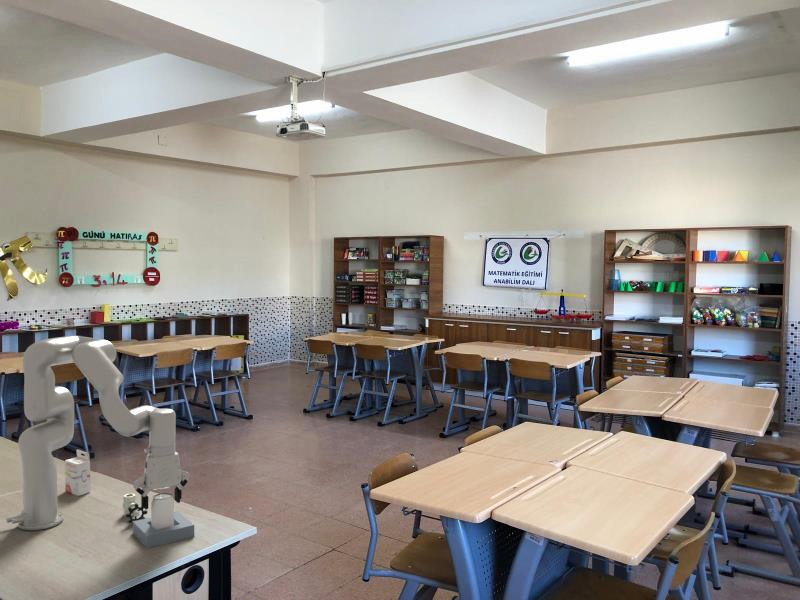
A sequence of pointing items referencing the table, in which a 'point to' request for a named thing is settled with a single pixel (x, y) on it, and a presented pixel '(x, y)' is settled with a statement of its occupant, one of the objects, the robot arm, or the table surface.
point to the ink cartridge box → (78, 474)
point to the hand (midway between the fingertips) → (161, 504)
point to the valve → (132, 508)
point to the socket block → (163, 531)
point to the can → (162, 511)
